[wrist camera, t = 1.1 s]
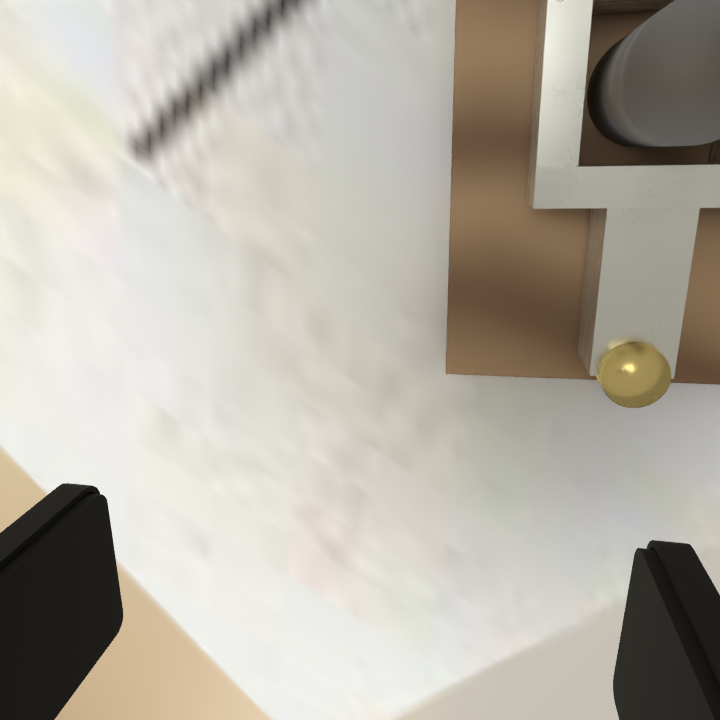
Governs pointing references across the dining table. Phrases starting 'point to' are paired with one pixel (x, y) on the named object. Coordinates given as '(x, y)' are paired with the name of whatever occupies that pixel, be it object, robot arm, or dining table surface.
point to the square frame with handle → (615, 215)
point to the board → (597, 146)
